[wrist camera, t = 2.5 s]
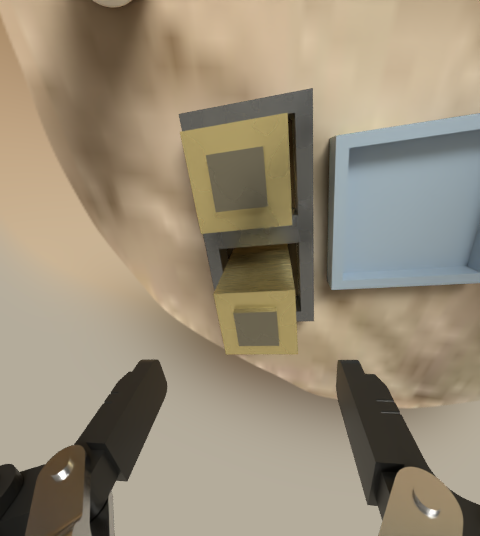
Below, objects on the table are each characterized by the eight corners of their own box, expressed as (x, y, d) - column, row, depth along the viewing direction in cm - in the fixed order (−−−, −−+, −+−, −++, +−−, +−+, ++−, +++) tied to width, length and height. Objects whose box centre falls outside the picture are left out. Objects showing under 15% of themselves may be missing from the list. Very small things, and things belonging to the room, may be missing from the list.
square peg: (281, 133, 16) (288, 110, 9) (284, 199, 18) (292, 227, 11) (219, 143, 17) (176, 130, 10) (228, 205, 19) (198, 236, 11)
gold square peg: (287, 242, 19) (295, 294, 12) (289, 288, 21) (298, 359, 14) (234, 246, 20) (211, 297, 13) (241, 291, 22) (224, 359, 15)
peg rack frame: (306, 98, 15) (312, 88, 13) (309, 304, 22) (313, 321, 19) (191, 120, 17) (178, 114, 14) (226, 307, 23) (221, 323, 21)
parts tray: (520, 108, 14) (552, 101, 12) (471, 271, 18) (490, 282, 17) (329, 138, 16) (336, 135, 14) (327, 279, 20) (331, 289, 19)
